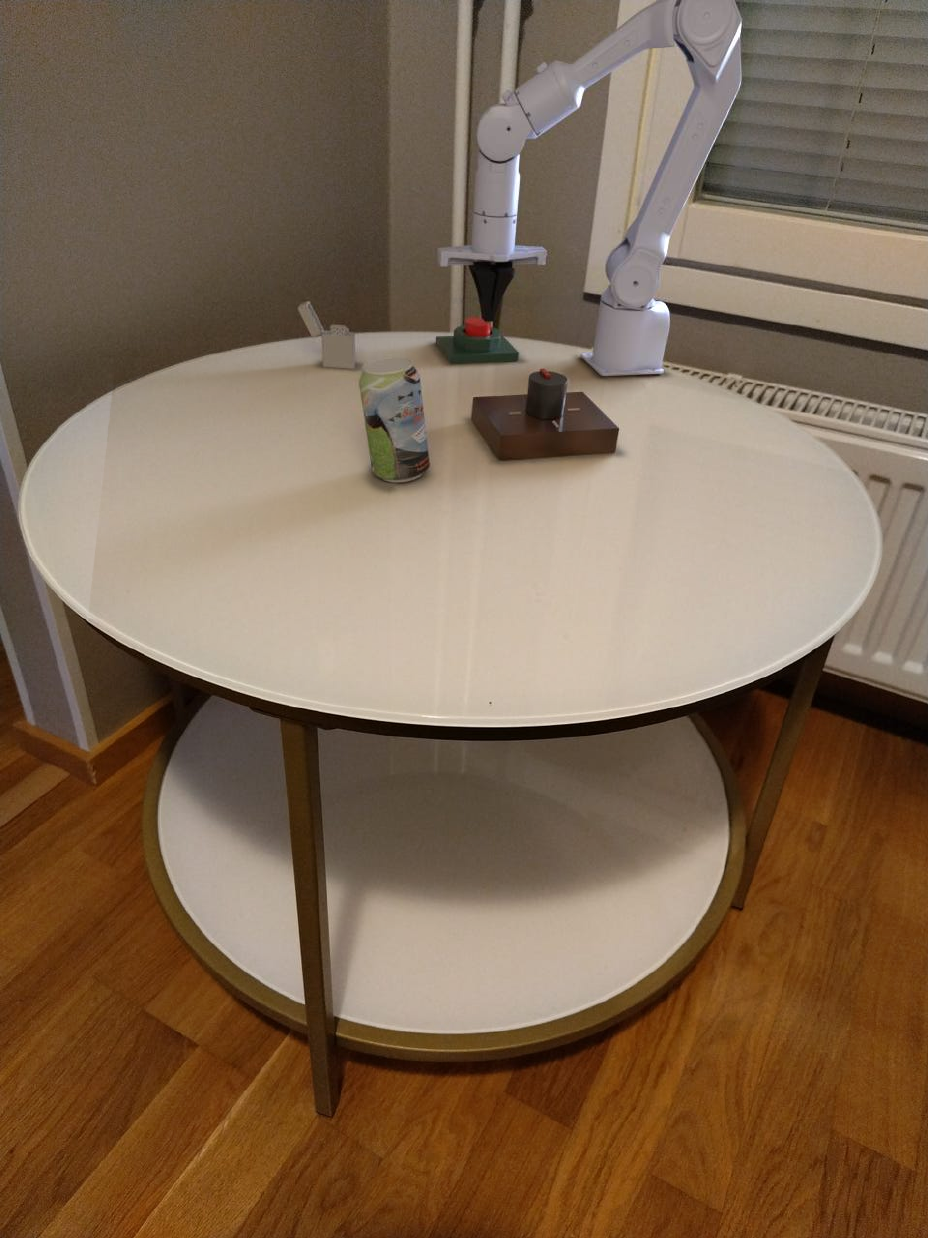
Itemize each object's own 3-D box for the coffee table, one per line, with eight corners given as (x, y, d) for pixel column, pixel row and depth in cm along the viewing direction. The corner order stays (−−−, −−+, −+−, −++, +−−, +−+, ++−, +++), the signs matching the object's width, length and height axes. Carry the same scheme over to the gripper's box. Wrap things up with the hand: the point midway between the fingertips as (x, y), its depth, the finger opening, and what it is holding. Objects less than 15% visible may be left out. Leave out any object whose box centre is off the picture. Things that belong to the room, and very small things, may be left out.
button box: (500, 342, 127) (502, 321, 125) (518, 361, 121) (520, 339, 119) (435, 344, 124) (436, 323, 123) (449, 363, 118) (450, 342, 117)
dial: (569, 418, 98) (574, 381, 95) (532, 420, 97) (537, 383, 94) (555, 403, 101) (559, 367, 99) (520, 405, 100) (523, 368, 97)
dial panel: (579, 414, 107) (582, 389, 105) (615, 452, 98) (619, 426, 96) (470, 420, 103) (472, 395, 101) (498, 460, 95) (501, 434, 93)
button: (485, 329, 123) (486, 317, 122) (493, 337, 120) (494, 325, 119) (461, 330, 122) (462, 317, 121) (468, 338, 119) (469, 325, 118)
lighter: (355, 364, 116) (354, 303, 111) (353, 368, 114) (352, 307, 110) (302, 360, 116) (299, 299, 111) (300, 364, 115) (297, 303, 110)
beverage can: (421, 493, 87) (425, 378, 80) (352, 483, 88) (349, 368, 81) (435, 467, 92) (440, 357, 85) (369, 457, 93) (369, 347, 86)
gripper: (448, 219, 106) (444, 330, 114) (558, 219, 109) (547, 326, 117) (434, 207, 111) (431, 314, 119) (540, 207, 115) (530, 311, 123)
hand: (487, 319), depth 119 cm, fingers closed
